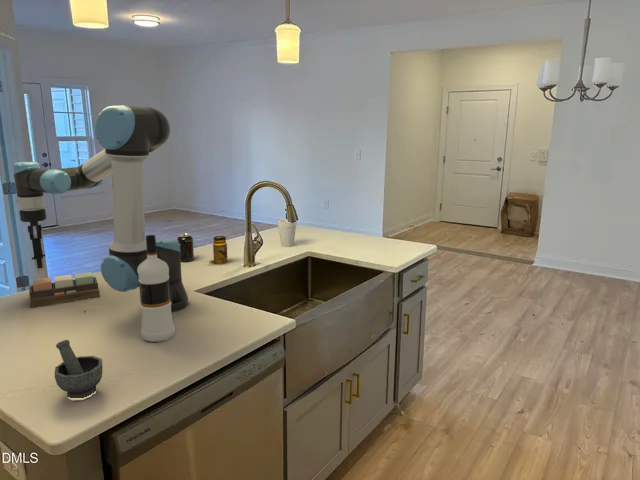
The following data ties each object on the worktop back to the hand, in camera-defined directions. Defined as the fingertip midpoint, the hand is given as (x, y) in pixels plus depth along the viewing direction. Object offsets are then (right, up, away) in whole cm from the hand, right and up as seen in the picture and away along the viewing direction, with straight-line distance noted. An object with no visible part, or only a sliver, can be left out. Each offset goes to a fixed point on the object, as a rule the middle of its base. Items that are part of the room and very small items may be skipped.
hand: (41, 276), depth 162 cm
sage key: (+11, -3, +7) cm, 14 cm away
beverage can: (+35, +3, +52) cm, 63 cm away
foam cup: (+79, +9, +80) cm, 113 cm away
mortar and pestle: (+42, -22, -55) cm, 73 cm away
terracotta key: (0, -4, +1) cm, 4 cm away
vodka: (+50, -16, -26) cm, 58 cm away
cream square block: (+6, -4, +4) cm, 8 cm away
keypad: (+6, -8, +5) cm, 11 cm away
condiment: (+51, +2, +48) cm, 70 cm away
